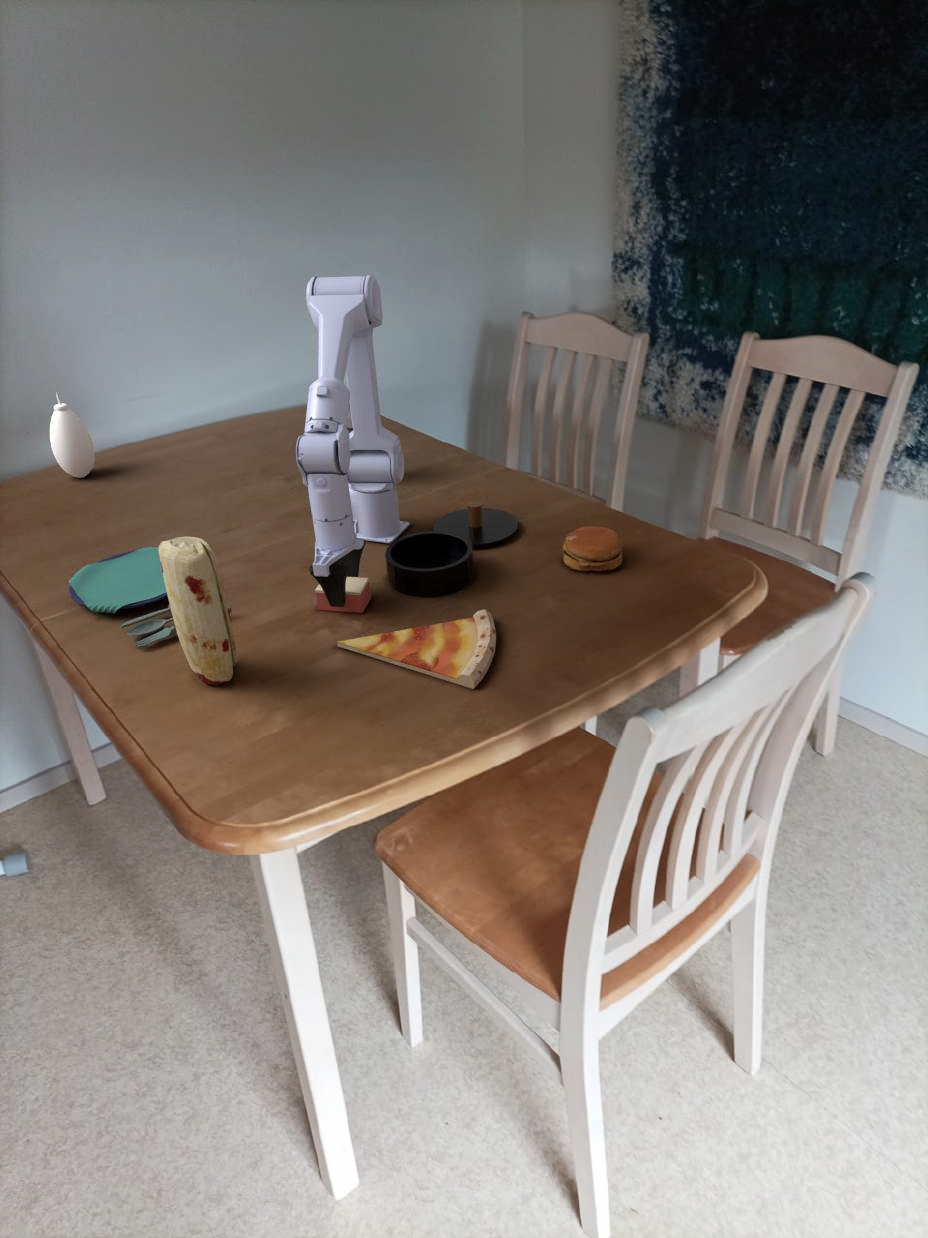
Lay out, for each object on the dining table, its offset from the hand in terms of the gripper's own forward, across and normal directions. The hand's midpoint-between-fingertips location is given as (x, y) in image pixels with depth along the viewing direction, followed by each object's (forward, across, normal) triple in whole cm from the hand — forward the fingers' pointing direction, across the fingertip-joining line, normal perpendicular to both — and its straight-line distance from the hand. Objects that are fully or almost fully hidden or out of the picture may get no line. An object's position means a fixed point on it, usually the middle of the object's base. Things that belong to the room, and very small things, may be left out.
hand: (343, 595), depth 132 cm
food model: (+2, -20, +12) cm, 23 cm away
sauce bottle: (+2, +44, +73) cm, 86 cm away
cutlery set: (+2, -2, +32) cm, 32 cm away
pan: (+1, +10, -11) cm, 15 cm away
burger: (+2, +18, -36) cm, 40 cm away
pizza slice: (+2, -8, -16) cm, 18 cm away
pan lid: (+1, +27, -15) cm, 31 cm away
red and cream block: (+1, 0, 0) cm, 1 cm away
